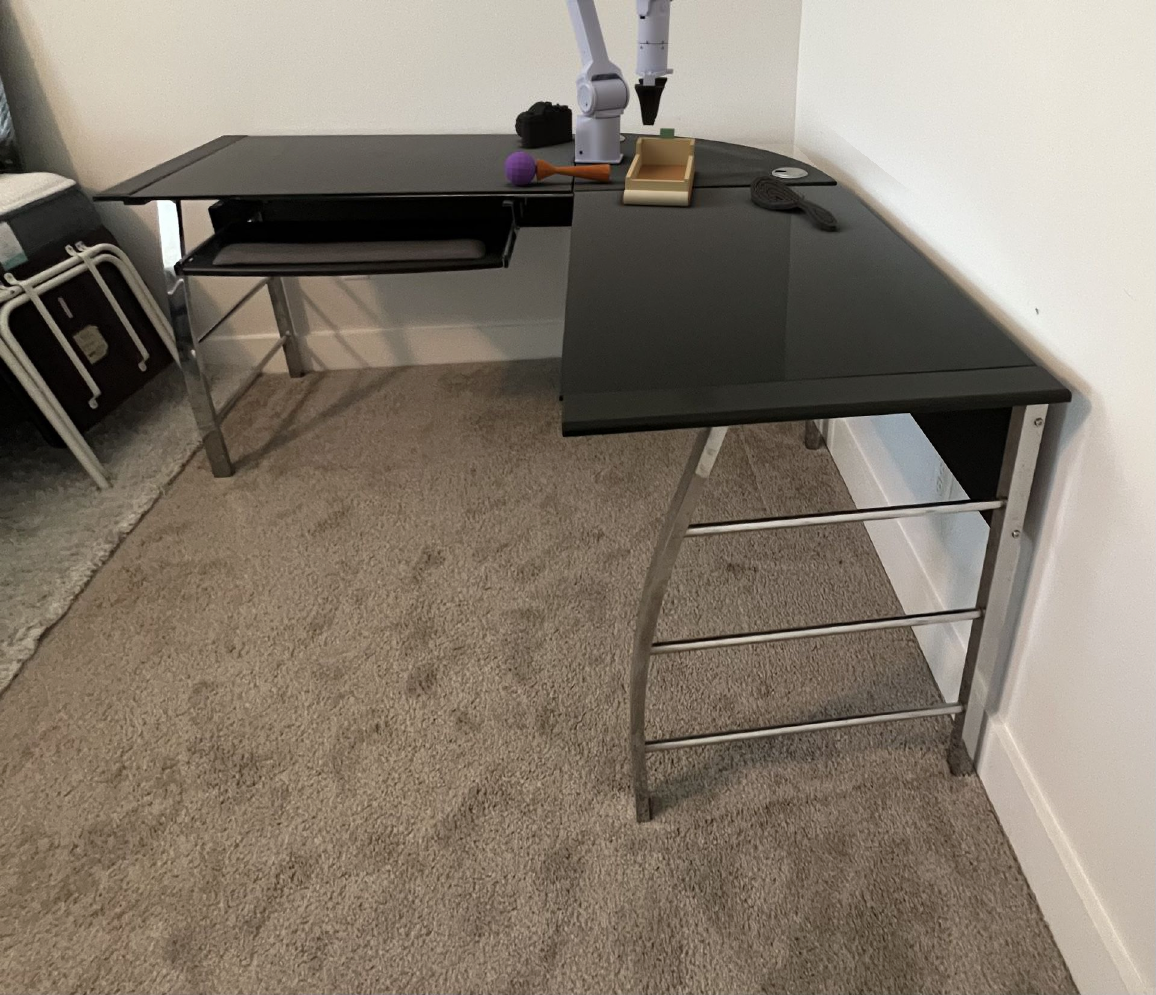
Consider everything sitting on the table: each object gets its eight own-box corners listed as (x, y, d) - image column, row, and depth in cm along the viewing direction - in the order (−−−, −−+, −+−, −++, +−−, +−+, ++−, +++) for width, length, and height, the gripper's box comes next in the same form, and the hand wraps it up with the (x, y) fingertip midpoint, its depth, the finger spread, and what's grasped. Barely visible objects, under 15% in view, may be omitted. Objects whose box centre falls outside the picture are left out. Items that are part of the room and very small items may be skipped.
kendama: (612, 164, 158) (505, 158, 156) (608, 195, 163) (504, 189, 160) (608, 151, 163) (504, 145, 160) (604, 181, 167) (504, 176, 164)
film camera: (550, 134, 203) (550, 94, 198) (577, 140, 197) (577, 98, 192) (501, 143, 195) (499, 101, 190) (528, 149, 189) (526, 106, 184)
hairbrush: (813, 215, 133) (742, 172, 152) (808, 238, 135) (739, 193, 154) (858, 211, 135) (783, 169, 154) (853, 234, 137) (779, 190, 156)
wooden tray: (688, 207, 148) (692, 157, 143) (621, 205, 149) (623, 156, 145) (694, 172, 170) (697, 128, 165) (636, 170, 171) (637, 127, 167)
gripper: (672, 47, 150) (668, 128, 158) (676, 39, 162) (672, 115, 170) (633, 46, 151) (630, 128, 158) (639, 38, 163) (637, 114, 170)
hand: (649, 121), depth 164 cm, fingers open, 7 cm apart
